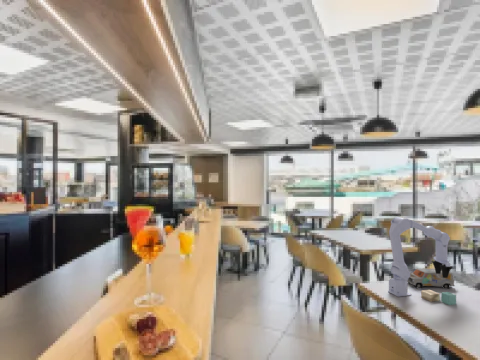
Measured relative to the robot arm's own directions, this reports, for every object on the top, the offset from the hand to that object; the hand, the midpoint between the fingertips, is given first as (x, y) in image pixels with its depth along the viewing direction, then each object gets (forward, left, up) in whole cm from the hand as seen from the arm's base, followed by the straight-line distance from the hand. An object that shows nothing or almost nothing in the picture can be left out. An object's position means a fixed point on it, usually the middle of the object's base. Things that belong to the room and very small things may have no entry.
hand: (441, 275), depth 167 cm
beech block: (-14, -6, -10) cm, 18 cm away
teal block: (-9, -12, -10) cm, 18 cm away
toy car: (+4, +12, -11) cm, 16 cm away
